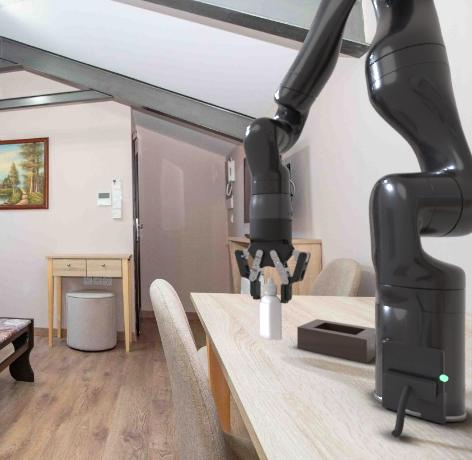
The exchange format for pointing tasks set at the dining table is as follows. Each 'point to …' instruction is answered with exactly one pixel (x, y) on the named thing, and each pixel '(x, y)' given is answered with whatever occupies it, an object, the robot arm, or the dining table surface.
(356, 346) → the holder
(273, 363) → the dining table surface
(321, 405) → the dining table surface
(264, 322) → the eye dropper bottle
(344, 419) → the dining table surface
